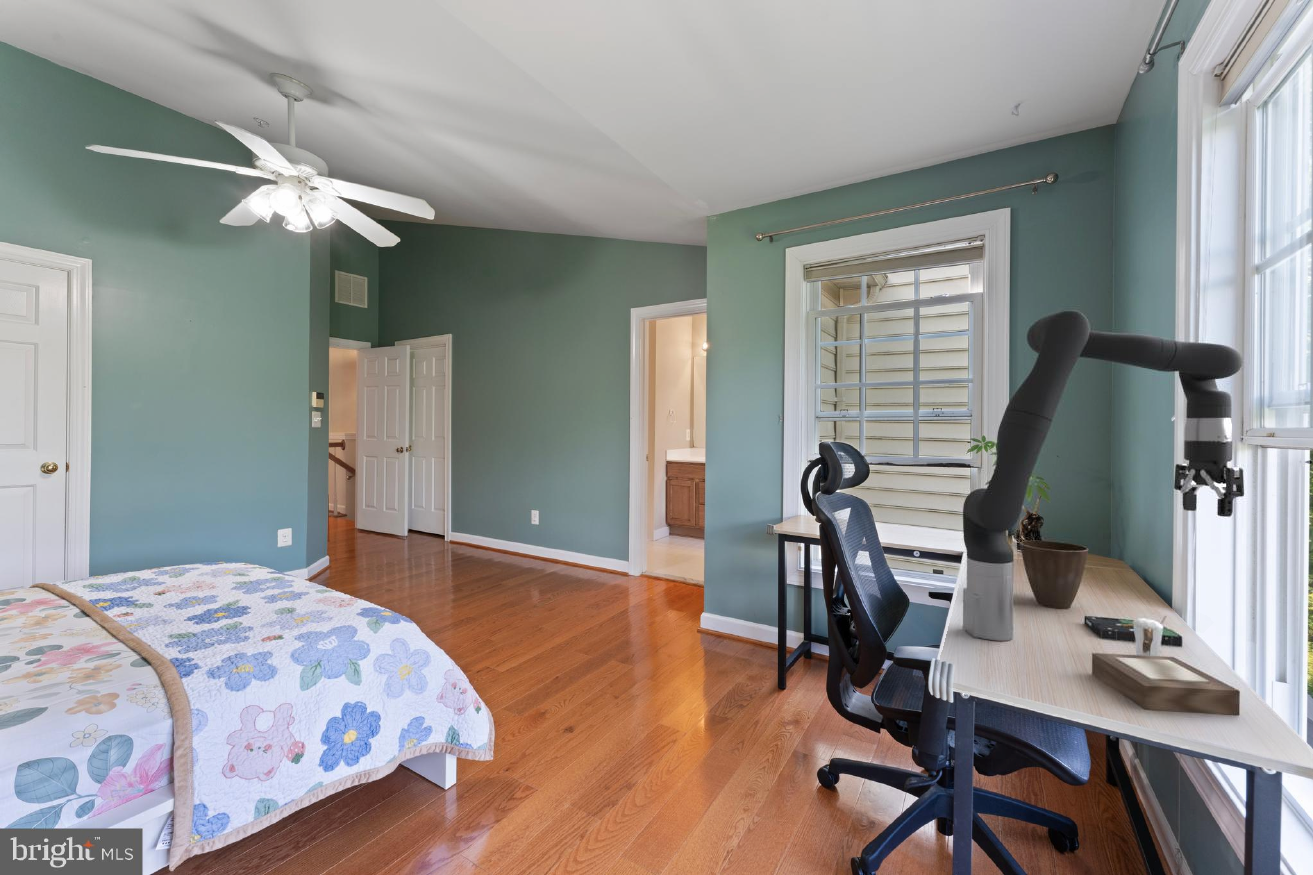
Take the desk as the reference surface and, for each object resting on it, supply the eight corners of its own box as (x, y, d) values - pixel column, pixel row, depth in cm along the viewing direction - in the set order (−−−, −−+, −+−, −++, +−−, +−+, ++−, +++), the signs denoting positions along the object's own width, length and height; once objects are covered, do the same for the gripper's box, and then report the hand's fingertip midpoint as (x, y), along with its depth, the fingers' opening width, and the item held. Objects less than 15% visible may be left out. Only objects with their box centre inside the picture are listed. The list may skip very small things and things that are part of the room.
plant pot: (1006, 599, 156) (1007, 541, 156) (1046, 594, 161) (1047, 538, 160) (1059, 615, 142) (1060, 552, 142) (1102, 610, 146) (1102, 549, 146)
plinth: (1145, 709, 94) (1145, 683, 94) (1092, 673, 108) (1092, 651, 108) (1239, 714, 92) (1239, 688, 92) (1173, 677, 106) (1173, 655, 106)
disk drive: (1101, 641, 126) (1184, 649, 122) (1101, 629, 126) (1183, 636, 121) (1083, 626, 136) (1158, 632, 131) (1083, 615, 136) (1158, 620, 131)
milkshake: (1173, 670, 109) (1173, 619, 109) (1141, 668, 110) (1142, 617, 110) (1157, 661, 114) (1158, 612, 114) (1127, 659, 115) (1127, 610, 115)
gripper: (1163, 438, 130) (1161, 508, 130) (1218, 439, 116) (1217, 518, 116) (1198, 438, 129) (1196, 509, 130) (1258, 439, 115) (1257, 518, 115)
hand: (1206, 513), depth 123 cm, fingers open, 8 cm apart
